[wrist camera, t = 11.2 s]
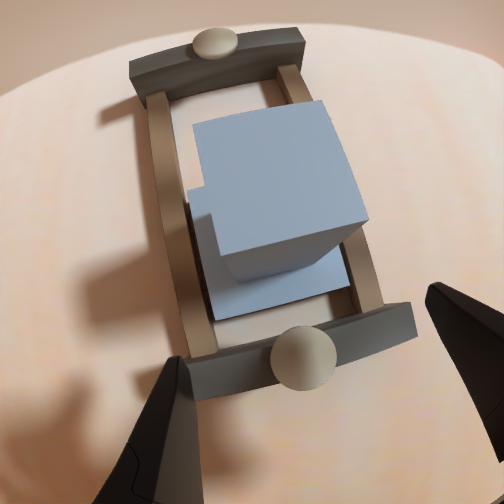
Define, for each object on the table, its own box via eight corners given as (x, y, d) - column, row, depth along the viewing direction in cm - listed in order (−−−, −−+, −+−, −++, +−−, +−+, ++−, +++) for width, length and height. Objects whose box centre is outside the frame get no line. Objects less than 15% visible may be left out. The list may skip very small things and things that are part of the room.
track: (390, 340, 18) (425, 347, 14) (198, 394, 18) (182, 417, 13) (290, 55, 23) (294, 17, 18) (143, 87, 22) (126, 51, 18)
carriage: (342, 287, 19) (431, 260, 8) (218, 319, 19) (174, 331, 8) (307, 171, 20) (346, 63, 10) (191, 199, 20) (139, 101, 10)
